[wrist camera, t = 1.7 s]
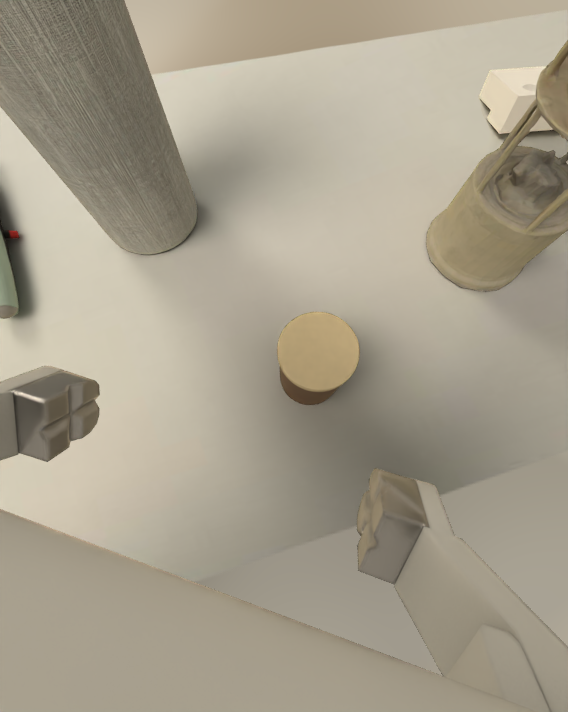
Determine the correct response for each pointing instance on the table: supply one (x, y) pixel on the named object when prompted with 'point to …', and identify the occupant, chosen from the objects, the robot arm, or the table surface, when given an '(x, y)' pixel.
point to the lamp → (508, 199)
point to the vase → (96, 116)
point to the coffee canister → (316, 356)
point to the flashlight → (7, 277)
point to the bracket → (511, 97)
